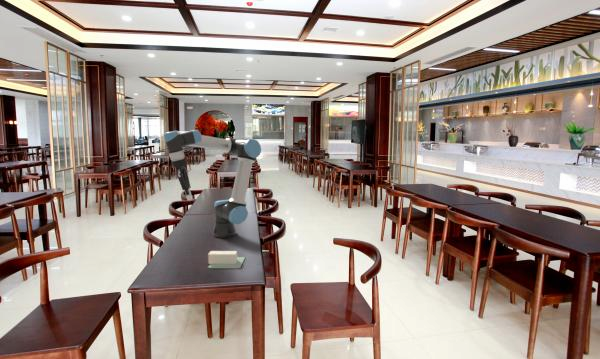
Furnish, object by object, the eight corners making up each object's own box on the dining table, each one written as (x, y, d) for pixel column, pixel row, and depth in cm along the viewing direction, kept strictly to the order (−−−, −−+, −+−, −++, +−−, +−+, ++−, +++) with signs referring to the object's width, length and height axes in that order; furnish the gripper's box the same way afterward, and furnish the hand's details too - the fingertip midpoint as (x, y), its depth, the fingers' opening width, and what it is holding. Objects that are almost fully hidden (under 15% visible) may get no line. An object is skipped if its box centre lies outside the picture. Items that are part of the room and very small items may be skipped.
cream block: (210, 250, 181) (237, 251, 181) (210, 260, 182) (237, 260, 182) (207, 254, 176) (235, 254, 176) (208, 263, 177) (235, 263, 177)
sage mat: (215, 258, 187) (215, 257, 186) (244, 258, 186) (244, 257, 186) (208, 268, 173) (207, 267, 173) (240, 268, 172) (239, 267, 172)
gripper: (175, 159, 196) (186, 198, 201) (167, 162, 183) (180, 204, 188) (188, 156, 196) (199, 195, 201) (181, 159, 183) (193, 201, 188)
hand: (190, 199), depth 195 cm, fingers closed
